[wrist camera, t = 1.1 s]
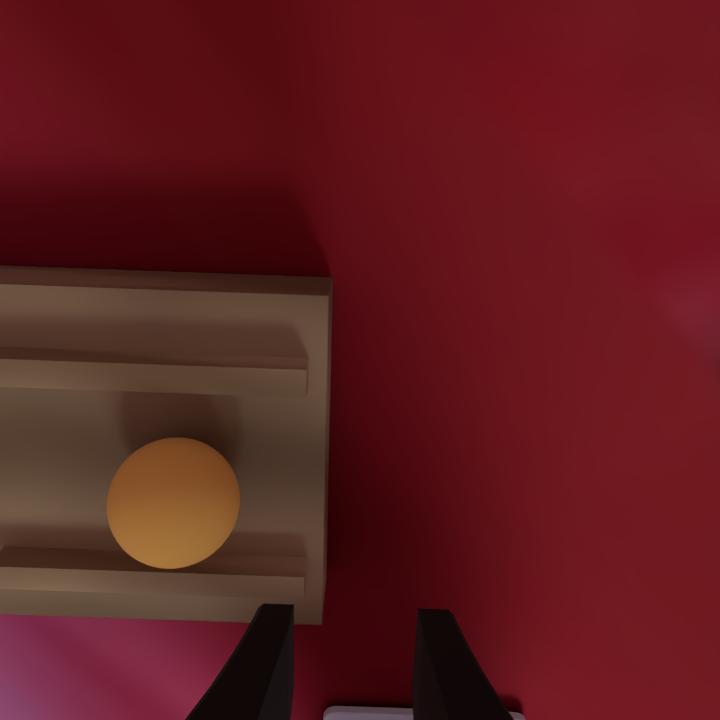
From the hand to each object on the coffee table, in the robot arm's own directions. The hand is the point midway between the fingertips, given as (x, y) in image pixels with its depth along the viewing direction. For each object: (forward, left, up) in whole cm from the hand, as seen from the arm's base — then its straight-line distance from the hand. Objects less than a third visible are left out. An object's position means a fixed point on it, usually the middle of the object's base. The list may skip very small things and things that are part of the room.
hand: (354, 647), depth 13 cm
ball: (0, +5, -5) cm, 7 cm away
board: (0, +10, -9) cm, 14 cm away
